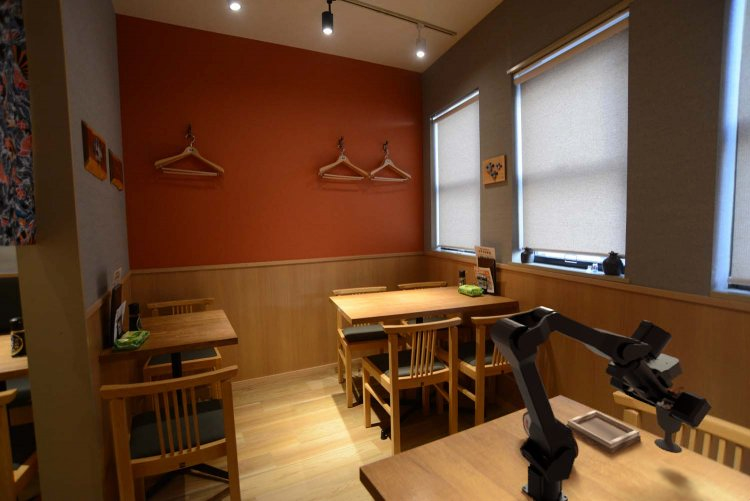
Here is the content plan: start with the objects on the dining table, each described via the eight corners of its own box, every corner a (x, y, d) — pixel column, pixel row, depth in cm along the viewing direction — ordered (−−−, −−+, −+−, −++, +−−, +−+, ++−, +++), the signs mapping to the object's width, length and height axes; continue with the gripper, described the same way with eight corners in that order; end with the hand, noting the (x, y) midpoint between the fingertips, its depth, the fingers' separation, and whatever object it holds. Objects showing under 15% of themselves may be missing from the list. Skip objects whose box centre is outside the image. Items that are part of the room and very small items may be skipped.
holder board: (610, 454, 85) (610, 444, 85) (566, 428, 96) (566, 420, 96) (640, 440, 90) (640, 431, 90) (595, 417, 101) (595, 409, 101)
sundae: (694, 457, 77) (698, 392, 75) (660, 454, 78) (663, 389, 77) (675, 438, 83) (678, 378, 82) (643, 436, 84) (646, 376, 83)
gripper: (706, 361, 69) (743, 406, 72) (619, 333, 87) (652, 370, 90) (675, 405, 68) (714, 449, 71) (593, 367, 86) (627, 404, 89)
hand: (673, 413), depth 80 cm, fingers closed on sundae, 6 cm apart
